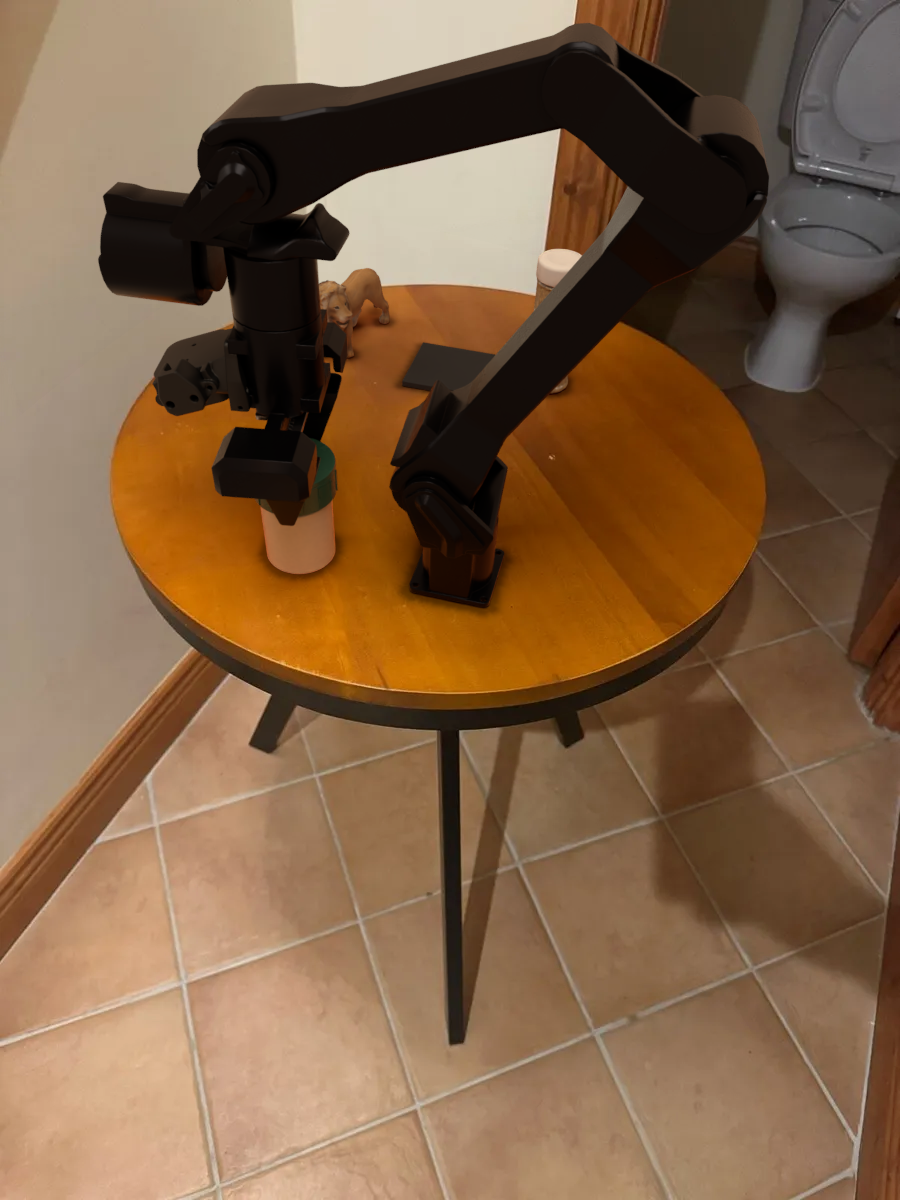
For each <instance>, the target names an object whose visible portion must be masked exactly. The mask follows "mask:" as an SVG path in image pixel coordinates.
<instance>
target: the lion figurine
mask: <svg viewBox="0 0 900 1200" xmlns="http://www.w3.org/2000/svg"><path fill="white" fill-rule="evenodd" d="M319 293H320V308H321V309H326V310H327V321H328V322H333V323H335V324H336V325H337V326H338V327H340V328H341V329H342V330H343V331H344V332H345V333H346V334H347V354H348V355H347V359H349V358H354V356H355V352H354V347H353V342H352V341H353V339H352V338H353V330H354V329H353V328H354V327H355V326H356V325H357V323H358V321H359V318H360V316H361V313H362V308H363V305H364V304H365V301H366V300H368V301H369V302H370V303H372V305H373V308H375V309H380V310H381V314H380V316H379V317H378V322H379V323H380V324H385V325H386V324H389V322H390V321H391V319H390V310H389V309H390V306H389V305H390V304H389V302H388V301H387V299H385V296H384V293H383V286H382V282H381V277H380V275H379V274H378V273H377V271H376V270H375V269H373V268H370V267H364V268H359V269H354V270H353V271H351V273H350V274H349V275H348V277H347V278H346V279H345V280H344V281H343V282H342V283H338V282H336V281H335V280H329V279H327V280H324V281H321V282H319Z"/></svg>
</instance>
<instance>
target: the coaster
mask: <svg viewBox="0 0 900 1200" xmlns="http://www.w3.org/2000/svg"><path fill="white" fill-rule="evenodd" d="M495 355H496V354H495V353H494V354H493V353H489V352H484V351H483V352H482V351H476V350H470V349H466V348H459V347H455V346H454V347H453V346H447V345H443V344H435V343H430V342H422V344H421V345H420V346H419V349H418V351H417V353H416V354H415V356H414V358H413V360H412V362H411V364H410V366H409V367H408V370H407V371H406V373H405V375H404V377H403V379H402V381H401V386H402V387H406V388H413V389H418V390H424V391H428V392H430V391H431V389H432V387H433V385H434V383H435V382H436V380H440V381H441V382H442V383H443V384H444V385H445V386H446V387H447V388H448V389H449V390H450V391H454V390H456V389H459V388H462V387H464V386H466V385H468V384H469V383H471V382H472V381H473V380H474V379H475V378H476V377H477V376H478V374H479V373H480V372H481V371H482V370H483V369H484V368H485V366H486V365H487V364H488V363H489V362H490V361H491V360H492V358H493V357H494V356H495Z"/></svg>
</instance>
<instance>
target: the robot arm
mask: <svg viewBox="0 0 900 1200" xmlns="http://www.w3.org/2000/svg"><path fill="white" fill-rule="evenodd" d="M556 130H565V131H567V132H568V133H570V134H571V135H572V136H574V137H575V138H577V139H578V140H579V141H581V142H582V143H583V144H585V146H587V147H588V148H589V149H590V151H592V152H593V153H594V154H595V155H596V157H598V159H600V160H601V161H602V163H604V165H605V166H607V167H608V168H609V169H610V171H612V172H613V173H614V175H615V176H617V178H619V180H620V181H621V182H622V183H624V184H625V186H626V187H627V188H626V189H625V191H624V193H623V195H622V196H621V199H620V201H619V203H618V205H617V207H616V209H615V211H614V212H613V215H612V217H611V218H610V220H609V221H608V224H607V225H606V227H605V229H604V230H603V231H602V232H601V233H600V235H598V237H597V238H596V239H595V240H594V242H592V243H591V245H590V246H589V247H588V248H587V249H586V250H585V251H584V253H583V254H581V255H582V256H581V258H580V259H579V260H578V261H577V262H576V263H575V264H574V266H573V267H572V268H571V269H570V270H569V271H568V272H567V274H566V275H565V276H564V277H563V278H562V279H561V280H560V282H559V283H558V284H557V285H556V286H555V287H554V289H553V290H552V291H551V292H550V293H549V294H548V295H547V297H546V298H545V299H544V300H543V301H542V302H541V303H540V305H539V306H538V307H537V308H536V309H535V310H534V309H533V311H532V312H531V313H530V315H529V316H528V317H527V318H526V319H525V320H524V321H523V322H522V324H521V325H520V326H519V327H518V328H517V329H516V331H514V333H513V334H512V335H511V336H510V337H509V339H508V340H507V341H506V342H505V344H503V346H502V347H501V348H500V349H499V350H498V351H497V352H496V354H495V356H494V357H493V358H492V360H491V361H490V362H489V363H488V364H487V365H486V366H485V368H484V369H483V370H482V371H481V372H480V373H479V374H478V376H477V377H476V378H475V379H474V380H473V381H472V382H471V383H469V384H468V385H466V386H464V387H462V388H459V389H456V390H454V391H450V390H449V389H448V388H447V387H446V386H445V385H444V384H443V383H442V382H441V381H440V380H436V382H435V383H434V385H433V387H432V389H431V391H429V393H428V395H427V396H426V397H425V399H424V400H423V401H422V402H421V403H420V404H419V405H417V406H416V407H415V406H414V407H413V408H411V409H409V410H408V412H407V415H406V418H405V421H404V423H403V427H402V429H401V431H400V435H399V437H398V441H397V443H396V445H395V448H394V452H393V454H392V457H391V460H390V462H389V463H390V464H389V465H390V466H392V467H394V469H393V472H392V476H391V478H390V480H389V486H388V487H389V489H390V492H391V495H392V498H393V500H394V501H395V502H396V504H397V505H398V508H400V509H401V510H403V511H404V512H405V513H406V514H407V517H408V519H409V521H410V524H411V526H412V529H413V531H414V533H415V535H416V537H417V540H418V542H419V544H420V546H421V547H422V553H420V554H421V555H420V556H419V559H418V562H417V564H416V567H415V569H414V572H413V574H412V576H411V579H410V582H409V585H408V586H409V587H408V588H409V591H410V593H413V594H414V593H415V594H418V595H422V596H426V597H427V596H428V597H432V598H437V599H441V600H446V601H451V602H456V603H460V604H466V605H471V606H475V607H479V608H486V607H488V606H489V605H490V603H491V600H492V597H493V594H494V591H495V587H496V584H497V582H498V577H499V575H500V572H501V568H502V566H503V565H502V564H503V563H504V558H505V551H504V550H503V549H501V548H497V537H498V529H499V519H500V517H499V514H500V508H501V503H502V499H503V496H504V490H505V485H506V480H507V475H508V470H509V468H508V465H507V464H506V463H505V462H504V460H502V459H501V458H500V457H499V456H498V455H499V453H500V450H501V449H502V447H503V445H504V443H505V442H506V440H507V438H508V437H509V436H510V435H512V433H513V432H515V430H516V429H517V428H518V427H519V426H520V425H521V424H522V423H523V422H524V421H525V420H526V419H527V418H528V417H529V416H530V415H531V414H532V413H533V412H534V411H535V410H536V409H537V408H538V407H539V406H540V405H541V403H542V402H543V401H544V400H546V398H547V397H548V396H549V395H551V394H552V393H551V392H552V391H553V390H554V389H555V388H556V387H557V386H558V385H559V384H560V383H561V382H562V381H563V379H564V378H565V377H566V376H567V375H568V376H569V374H570V373H571V372H572V371H574V369H575V368H576V367H578V365H579V364H580V363H581V362H582V361H583V360H584V359H585V358H586V357H587V356H588V355H589V354H590V353H591V352H592V351H593V350H594V349H595V348H596V347H597V346H598V345H599V343H601V342H602V341H603V339H604V338H605V337H606V336H608V334H609V333H610V332H611V331H613V330H614V328H615V327H616V326H617V325H618V324H619V323H620V322H621V321H622V320H623V319H624V318H625V317H626V316H627V315H628V314H629V313H630V311H631V310H633V308H635V306H637V305H638V303H640V301H641V300H642V299H643V298H644V297H645V296H646V295H647V294H648V293H649V292H651V291H652V290H654V289H655V288H657V287H658V286H661V285H663V284H665V283H668V282H670V281H672V280H674V279H677V278H679V277H681V276H683V275H686V274H688V273H691V272H693V271H695V270H697V269H699V268H700V267H702V266H703V265H704V264H705V263H707V262H708V261H710V260H711V259H712V258H714V257H715V256H717V255H718V254H719V253H720V252H722V251H723V250H724V249H726V248H727V247H729V246H730V245H732V244H733V243H735V241H737V240H738V239H739V238H742V236H744V235H745V234H746V233H747V232H749V230H751V229H752V227H753V226H754V225H755V223H756V222H757V221H758V220H759V218H760V217H761V215H762V214H763V211H764V210H765V208H766V205H767V202H768V195H769V186H770V185H769V184H770V174H769V168H768V163H767V158H766V153H765V147H764V143H763V138H762V134H761V129H760V126H759V123H758V119H757V118H756V117H755V115H754V114H753V113H752V111H751V110H750V108H749V107H748V106H747V105H745V104H744V103H742V102H740V101H739V100H738V99H736V98H734V97H730V96H726V95H721V94H712V95H706V96H704V95H703V94H702V93H700V92H698V91H697V90H696V89H695V88H694V87H692V86H690V85H689V84H688V83H686V82H685V81H684V80H683V79H681V77H679V76H678V75H676V74H674V73H673V72H671V71H669V70H667V69H666V68H663V67H662V66H660V65H657V64H656V63H654V62H652V61H651V60H648V59H646V58H645V57H643V56H641V55H639V54H637V53H635V52H633V51H632V50H630V49H628V48H627V47H625V46H624V45H623V44H622V43H620V42H619V41H618V40H616V39H615V38H614V37H613V36H612V35H611V34H610V33H609V32H608V31H607V30H606V29H604V28H603V27H602V26H599V25H598V24H593V23H591V22H583V23H581V22H580V23H579V22H578V23H573V24H571V25H568V26H567V27H565V28H564V29H562V30H560V31H559V32H557V33H555V34H552V35H549V36H545V37H540V38H537V39H534V40H529V41H526V42H523V43H519V44H514V45H511V46H507V47H504V48H503V47H502V48H500V49H495V50H491V51H489V52H484V53H481V54H477V55H474V56H470V57H465V58H462V59H457V60H453V61H450V62H446V63H443V64H439V65H435V66H431V67H428V68H424V69H421V70H417V71H413V72H408V73H404V74H401V75H397V76H393V77H389V78H386V79H383V80H382V79H381V80H379V81H374V82H371V83H366V84H363V85H351V86H336V85H330V84H323V83H318V82H317V83H316V82H298V83H280V84H264V85H257V86H254V87H253V88H251V89H249V90H247V91H245V92H243V94H242V95H240V96H239V97H238V98H237V99H236V100H235V101H234V102H233V103H232V104H231V105H230V106H229V107H228V108H227V109H226V110H225V111H224V112H223V113H222V114H221V115H220V116H218V117H217V118H216V119H215V120H214V121H213V122H212V123H211V124H210V125H209V126H208V127H207V129H205V130H204V131H203V132H202V134H201V138H200V140H199V143H198V146H197V151H196V153H197V154H196V155H197V156H196V158H197V159H196V161H197V162H196V163H197V164H196V166H197V170H198V173H199V178H198V180H197V182H196V183H195V185H194V187H193V188H192V190H191V191H190V192H179V191H171V190H164V189H163V190H162V189H156V188H155V189H154V188H148V187H145V186H142V185H139V184H137V183H133V182H132V183H131V182H122V181H117V182H116V183H115V184H114V185H113V186H112V187H110V189H108V190H107V191H106V192H105V193H104V194H103V195H102V199H103V205H104V208H105V214H104V218H103V221H102V225H101V230H100V237H99V238H100V240H99V242H100V243H99V251H100V252H99V253H100V254H99V256H98V257H97V262H98V267H99V272H100V274H101V277H102V280H103V282H104V284H105V286H106V287H107V289H108V290H109V291H110V293H112V294H114V295H115V296H118V297H119V296H121V297H127V298H137V299H144V300H150V301H158V302H165V303H172V304H173V303H174V304H183V305H190V306H198V307H200V306H202V307H203V306H205V305H206V304H208V303H209V301H210V299H211V298H212V295H213V293H214V292H215V293H217V292H218V293H219V292H221V291H222V290H223V288H224V287H225V285H226V283H227V284H228V291H229V298H230V300H229V301H230V306H231V307H230V308H231V312H232V314H231V315H232V321H233V325H232V327H230V328H227V329H223V328H221V329H220V328H219V329H215V330H212V331H209V332H205V333H201V334H197V335H192V336H191V337H186V338H183V339H180V340H177V341H175V342H172V344H170V345H169V346H168V347H167V348H166V350H165V351H164V353H163V355H162V356H161V359H160V360H159V362H158V364H157V366H156V368H155V370H154V371H153V377H154V380H153V382H152V386H153V388H154V389H155V393H156V396H155V398H154V400H155V402H156V404H157V405H158V406H160V407H163V408H164V409H165V410H166V412H167V413H168V414H170V415H171V416H172V415H173V416H174V417H181V416H185V415H189V414H193V413H197V412H201V411H203V410H205V408H206V407H208V406H212V405H215V404H216V405H217V404H220V403H223V402H225V401H227V400H228V402H229V409H230V411H231V412H241V413H242V412H244V413H249V412H250V411H251V409H255V413H254V415H255V420H257V421H264V422H265V421H266V423H265V426H264V428H259V427H257V428H256V427H247V426H246V427H245V426H235V427H233V428H231V430H230V431H229V432H227V433H226V435H224V436H223V438H222V441H221V442H220V445H219V448H218V449H217V452H216V456H215V458H214V460H213V463H212V465H211V468H210V469H211V473H212V474H211V475H212V479H213V484H214V490H215V491H216V493H218V494H219V495H220V497H226V498H237V499H238V498H240V499H253V500H255V499H265V500H266V501H267V503H268V504H269V506H270V508H271V510H272V511H273V513H274V515H275V517H276V518H277V520H278V522H279V523H280V524H281V525H285V526H294V525H295V523H296V521H297V518H298V516H299V514H300V511H301V509H302V507H303V504H304V502H305V500H306V499H307V498H309V497H310V493H311V490H312V486H313V484H314V481H315V478H316V474H317V471H318V467H319V463H320V459H321V457H317V449H316V443H314V442H313V441H312V440H311V439H310V438H313V439H316V440H318V441H320V442H322V439H323V436H324V433H325V430H326V428H327V426H328V422H329V420H330V417H331V416H332V412H333V409H334V408H335V407H334V406H335V404H336V402H337V399H338V395H339V392H340V388H341V384H342V381H343V377H342V375H341V374H343V373H344V370H345V367H346V362H347V359H348V358H347V355H348V354H347V334H346V333H345V332H344V331H343V330H342V329H341V328H340V327H338V326H337V325H336V324H335V323H333V322H328V321H327V310H326V309H321V308H320V293H319V283H320V278H319V263H318V261H325V262H333V261H335V260H336V259H337V257H338V256H339V254H340V253H341V250H342V248H343V247H344V245H345V244H346V242H347V240H348V238H349V237H350V235H351V234H350V230H349V228H348V227H347V226H346V225H345V224H343V223H342V222H341V221H340V220H339V219H338V218H336V217H334V216H333V215H332V214H331V213H330V212H329V211H328V210H327V209H326V206H325V205H324V203H321V202H318V201H320V200H322V199H323V198H325V197H327V196H328V195H330V194H332V193H333V192H335V191H336V190H338V189H339V188H341V187H342V186H344V185H346V184H348V183H350V182H352V181H354V180H356V179H359V178H360V177H362V176H365V175H367V174H372V173H377V172H380V171H384V170H388V169H392V168H397V167H402V166H406V165H411V164H414V163H419V162H423V161H427V160H431V159H435V158H436V159H437V158H440V157H444V156H449V155H453V154H457V153H461V152H467V151H470V150H475V149H479V148H484V147H489V146H493V145H496V144H501V143H504V142H509V141H513V140H518V139H522V138H526V137H531V136H535V135H539V134H543V133H549V132H552V131H556ZM317 202H318V203H317ZM315 203H316V204H315ZM313 204H315V205H314V207H313V208H312V209H311V210H310V211H309V212H307V213H305V214H304V213H303V214H301V213H295V212H298V211H300V210H302V209H305V208H307V207H309V206H311V205H313ZM325 358H330V359H332V369H333V371H334V372H331V362H326V361H325ZM339 373H341V374H339Z"/></svg>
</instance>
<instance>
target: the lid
mask: <svg viewBox="0 0 900 1200" xmlns="http://www.w3.org/2000/svg"><path fill="white" fill-rule="evenodd" d="M310 439H311V440H312V441H313V442H314V443H316V449H317V457H321V459H320V463H319V467H318V471H317V474H316V478H315V481H314V484H313V486H312V490H311V493H310V497H309V498H307V499H306V500H305V502H304V504H303V507H302V509H301V511H300V514H299V516H303V515H308V514H311V513H314V512H317V511H319V510H321V509H323V508H324V507H326V506H327V505H328V504H329V503H330V502H331V501H332V502H333V500H334V499H335V497H336V494H337V491H339V490H338V488H339V487H338V472H337V471H338V470H337V464H336V456H335V453H334V452H333V451H332V449H331V448H330V447H329V445H327V444H325V443H324V442H322V441H321V442H320V441H318V440H316V439H313V438H310ZM254 501H255V503H256V504H257V505H258V506H259V508H260V507H262V508H263V509H265V510H266V511H268V512H271V513H273V511H272V510H271V508H270V506H269V504H268V503H267V501H266V500H265V499H254Z"/></svg>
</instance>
